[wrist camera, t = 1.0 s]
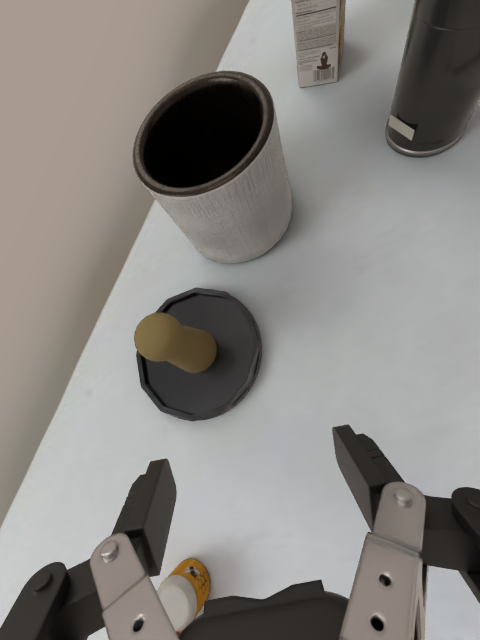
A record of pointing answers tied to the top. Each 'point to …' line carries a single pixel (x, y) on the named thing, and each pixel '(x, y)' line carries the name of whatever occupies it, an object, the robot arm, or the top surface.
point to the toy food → (184, 593)
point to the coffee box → (318, 40)
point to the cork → (174, 343)
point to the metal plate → (227, 368)
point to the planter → (218, 165)
